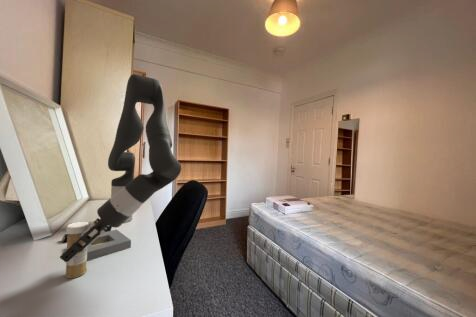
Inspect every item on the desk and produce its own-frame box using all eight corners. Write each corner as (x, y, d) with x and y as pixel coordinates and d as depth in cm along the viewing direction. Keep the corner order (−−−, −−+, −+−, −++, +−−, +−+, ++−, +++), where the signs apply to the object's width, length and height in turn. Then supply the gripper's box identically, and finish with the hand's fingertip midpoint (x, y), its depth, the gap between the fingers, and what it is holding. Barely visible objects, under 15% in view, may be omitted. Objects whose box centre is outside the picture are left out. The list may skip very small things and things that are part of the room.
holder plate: (70, 247, 67) (70, 240, 67) (116, 235, 78) (116, 229, 78) (80, 262, 58) (80, 254, 58) (130, 247, 69) (130, 240, 69)
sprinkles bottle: (63, 274, 53) (65, 223, 53) (84, 267, 56) (86, 220, 56) (67, 281, 50) (68, 228, 50) (89, 273, 53) (90, 224, 53)
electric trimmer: (112, 233, 81) (113, 226, 81) (62, 244, 70) (63, 235, 70) (110, 231, 84) (110, 223, 84) (61, 241, 72) (61, 232, 72)
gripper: (117, 192, 62) (71, 232, 58) (103, 203, 49) (42, 255, 45) (135, 208, 64) (92, 248, 60) (127, 222, 50) (70, 275, 47)
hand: (71, 251), depth 52 cm, fingers open, 8 cm apart
